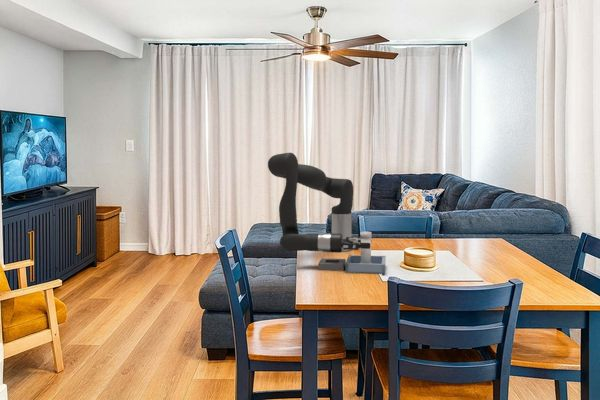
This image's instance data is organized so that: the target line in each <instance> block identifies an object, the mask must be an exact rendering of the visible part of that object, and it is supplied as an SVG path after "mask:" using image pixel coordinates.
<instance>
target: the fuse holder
mask: <svg viewBox="0 0 600 400" xmlns="http://www.w3.org/2000/svg"><path fill="white" fill-rule="evenodd" d="M346 261H347V259H346V258H327V257H326V258H324V257H321V258H320V260H319V262H318V263H317V266H318V267H317V270H318V271H337V272H339V271H340V272H341V271H342V272H345V263H346Z"/></svg>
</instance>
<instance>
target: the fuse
mask: <svg viewBox="0 0 600 400" xmlns="http://www.w3.org/2000/svg"><path fill="white" fill-rule="evenodd" d="M359 233H360V236H359V237H360V238H361V243H370V249H361V248H360V255H361V262H360V263H364V264H371V256H372V232H371V231H366V230H365V231H360V232H359Z"/></svg>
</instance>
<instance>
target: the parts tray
mask: <svg viewBox="0 0 600 400" xmlns="http://www.w3.org/2000/svg"><path fill="white" fill-rule="evenodd" d="M360 262H361V254H359V255H358V254H348V256H347V259H346V263H345V268H344V272H345V273H346V274H371V275H372V274H374V275H375V274H378V275H380V274H381V276H385V274H386V255H371V264H364V263H360Z"/></svg>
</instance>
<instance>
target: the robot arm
mask: <svg viewBox="0 0 600 400" xmlns="http://www.w3.org/2000/svg"><path fill="white" fill-rule="evenodd" d="M298 161H299V160H298V157H297V156H296V155H295V154H294V153H293V152H284V153H277V154H274V155H272V156H271V157H269V159H268V161H267V168H268V170H269V172H270V173H271V175H273V176H274V177H277V178H280V179H281V178H282V179H285V186H284V190H283V194H282V196H281V198H280V201H279V205H278V215H279V225H280V227H281V231H282V236H281V237H280V239H279V246H280V247H281V248H282V249H283V250H284V251H285V252H286V251H287V252H302V251H305V252H306V251H307V252H321V253H322V252H323V253H342V252H348V251H353V250H354V251H359V250H361V249H370V243H361V238H360V236H352V209H353V205H354V183H353V181H352V180H351V179H350V178H336V177H335V178H334V177H330V176H327V175H326V173H325V171H323V170H322V169H320V168H318V167H315V166H313V165H311V164H303V163H302V164H301V163H299V162H298ZM298 184H299V185H302V186H305V187H306V188H309V189H312V190H315V191H317V192H318V191H319V192H321V193H324V194H326V195H327V196H329V197H331V198H333V199H340V200H339V204H337V205H334V206H332V207H331V233H330V232H329V233H325V232H324V233H306V234H303V233H300V232H299V227H298V218H297V216H298V215H297V190H298V189H297V188H298Z"/></svg>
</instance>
